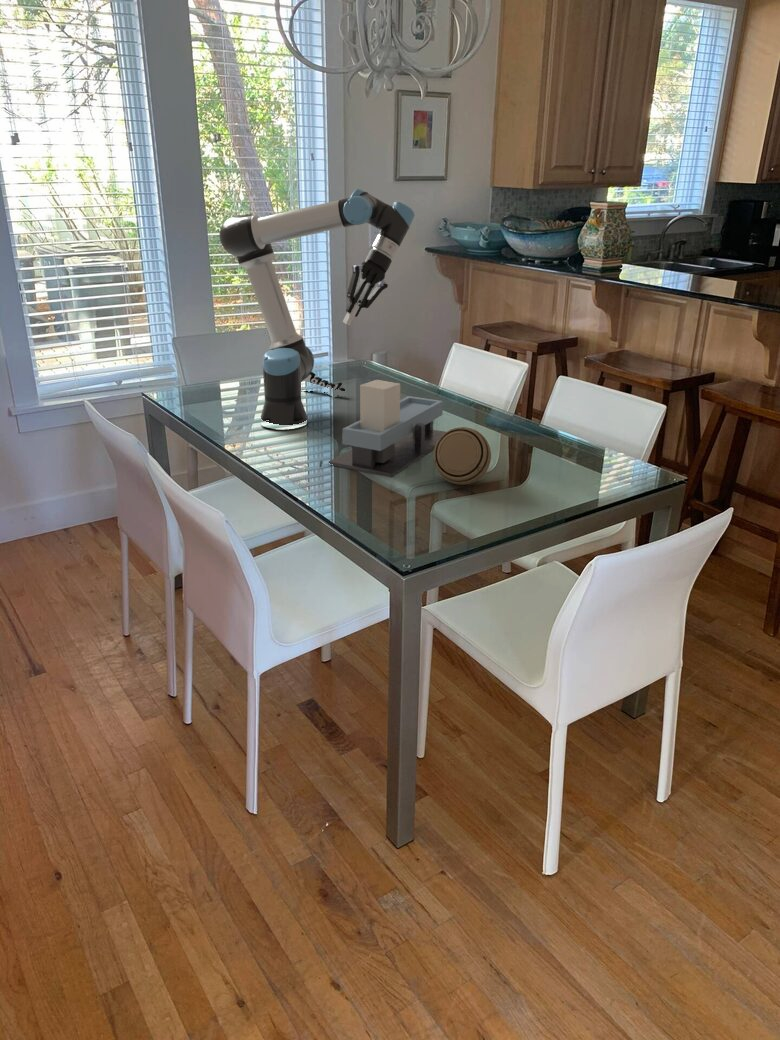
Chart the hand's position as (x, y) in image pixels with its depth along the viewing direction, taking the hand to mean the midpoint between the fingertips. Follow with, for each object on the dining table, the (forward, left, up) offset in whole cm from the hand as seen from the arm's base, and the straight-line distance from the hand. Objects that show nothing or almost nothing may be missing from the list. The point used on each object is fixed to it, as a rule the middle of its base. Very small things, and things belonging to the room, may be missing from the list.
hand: (346, 323), depth 244 cm
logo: (-10, +38, -33) cm, 51 cm away
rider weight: (+10, -34, -23) cm, 42 cm away
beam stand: (+15, -26, -32) cm, 44 cm away
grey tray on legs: (+15, -26, -31) cm, 43 cm away
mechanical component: (+31, -54, -32) cm, 70 cm away
